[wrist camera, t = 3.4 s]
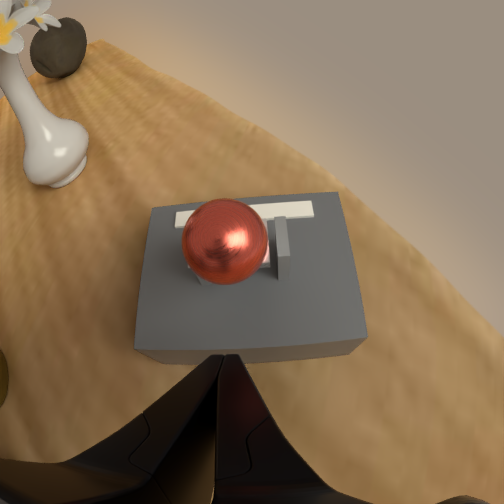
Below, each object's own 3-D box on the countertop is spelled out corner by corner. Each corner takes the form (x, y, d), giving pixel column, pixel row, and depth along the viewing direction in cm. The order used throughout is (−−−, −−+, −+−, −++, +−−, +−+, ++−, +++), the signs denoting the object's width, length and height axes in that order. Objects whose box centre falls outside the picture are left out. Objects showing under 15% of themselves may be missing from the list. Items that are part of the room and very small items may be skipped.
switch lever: (271, 280, 17) (271, 282, 9) (217, 283, 17) (172, 289, 9) (267, 226, 17) (263, 183, 9) (214, 230, 17) (168, 193, 9)
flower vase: (29, 250, 27) (-109, 81, 5) (34, 158, 36) (-40, 30, 14) (127, 194, 29) (19, -35, 7) (107, 115, 38) (49, -30, 16)
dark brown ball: (103, 61, 52) (83, 7, 39) (48, 95, 48) (22, 42, 35) (87, 54, 57) (70, 9, 44) (41, 83, 54) (20, 39, 41)
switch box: (348, 354, 20) (383, 321, 13) (163, 364, 20) (110, 336, 14) (329, 231, 25) (343, 162, 18) (172, 243, 25) (138, 182, 19)
